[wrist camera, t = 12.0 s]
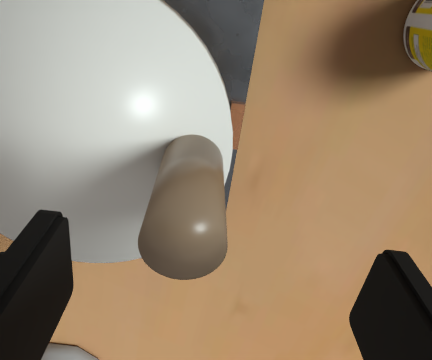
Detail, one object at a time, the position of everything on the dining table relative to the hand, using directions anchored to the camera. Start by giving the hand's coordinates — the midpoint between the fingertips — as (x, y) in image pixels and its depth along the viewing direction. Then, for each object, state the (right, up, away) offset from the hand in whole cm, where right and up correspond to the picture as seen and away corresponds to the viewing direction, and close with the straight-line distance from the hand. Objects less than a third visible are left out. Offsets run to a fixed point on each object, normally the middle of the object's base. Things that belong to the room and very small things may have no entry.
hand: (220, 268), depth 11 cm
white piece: (-7, +6, +9) cm, 13 cm away
